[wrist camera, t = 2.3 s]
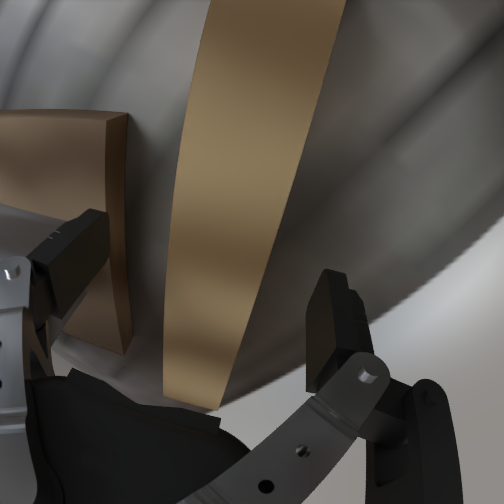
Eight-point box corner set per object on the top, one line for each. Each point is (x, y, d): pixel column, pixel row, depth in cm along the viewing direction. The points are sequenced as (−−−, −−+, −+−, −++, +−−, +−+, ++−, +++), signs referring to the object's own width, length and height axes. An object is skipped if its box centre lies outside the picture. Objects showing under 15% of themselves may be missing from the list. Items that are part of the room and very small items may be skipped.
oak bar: (262, -53, 8) (247, -105, 4) (342, -35, 8) (367, -81, 4) (183, 338, 21) (163, 395, 17) (230, 351, 21) (217, 410, 17)
